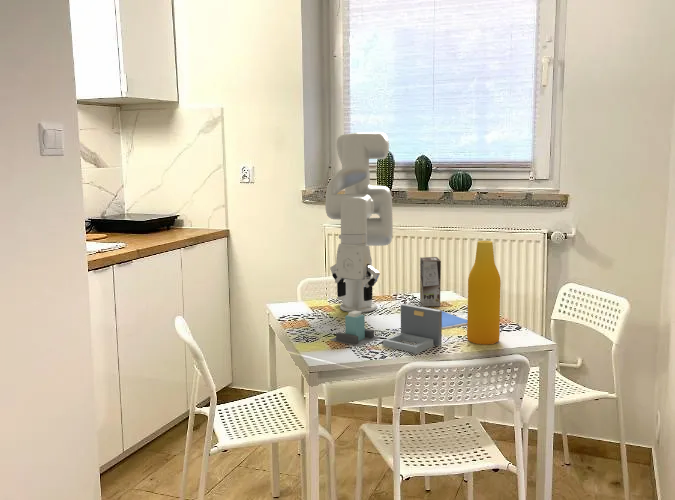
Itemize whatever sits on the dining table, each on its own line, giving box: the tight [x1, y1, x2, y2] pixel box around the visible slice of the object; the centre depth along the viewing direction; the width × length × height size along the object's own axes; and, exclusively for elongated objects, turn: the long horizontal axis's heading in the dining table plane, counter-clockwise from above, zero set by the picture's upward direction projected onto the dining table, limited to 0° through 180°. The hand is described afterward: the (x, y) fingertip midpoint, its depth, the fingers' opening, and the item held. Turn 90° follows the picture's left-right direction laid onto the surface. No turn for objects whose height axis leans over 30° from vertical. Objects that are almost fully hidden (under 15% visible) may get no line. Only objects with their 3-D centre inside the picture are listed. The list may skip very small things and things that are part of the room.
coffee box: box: [419, 256, 442, 307], centre depth 241 cm, size 9×6×16 cm
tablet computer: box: [435, 308, 468, 330], centre depth 221 cm, size 19×13×1 cm, turn 29°
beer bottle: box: [466, 240, 502, 345], centre depth 196 cm, size 9×9×29 cm
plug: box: [344, 311, 366, 341], centre depth 200 cm, size 4×4×8 cm
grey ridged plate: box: [329, 328, 382, 347], centre depth 200 cm, size 11×11×2 cm
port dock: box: [382, 303, 443, 355], centre depth 193 cm, size 13×12×10 cm
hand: (354, 298), depth 198 cm, fingers open, 9 cm apart
